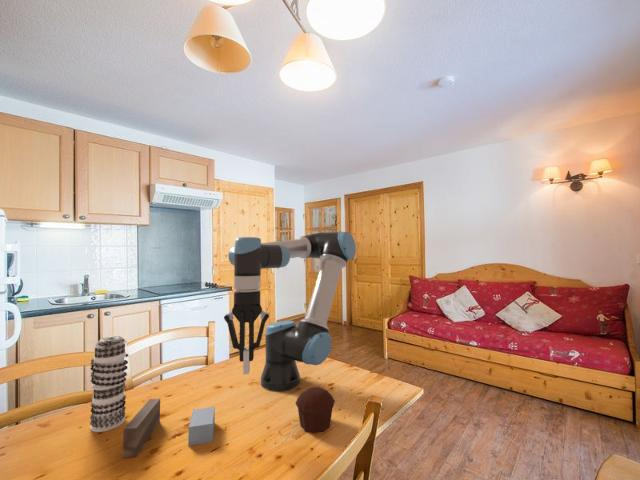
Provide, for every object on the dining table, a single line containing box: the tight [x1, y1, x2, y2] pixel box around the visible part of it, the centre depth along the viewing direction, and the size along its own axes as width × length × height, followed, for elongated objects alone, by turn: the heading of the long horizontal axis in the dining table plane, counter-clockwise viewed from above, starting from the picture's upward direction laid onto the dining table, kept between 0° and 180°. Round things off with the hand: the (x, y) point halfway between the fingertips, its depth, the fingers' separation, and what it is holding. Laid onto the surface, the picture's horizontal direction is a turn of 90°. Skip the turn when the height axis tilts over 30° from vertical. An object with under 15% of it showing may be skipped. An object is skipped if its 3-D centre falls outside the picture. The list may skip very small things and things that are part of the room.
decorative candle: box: [89, 335, 129, 433], centre depth 88 cm, size 9×9×25 cm
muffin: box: [295, 386, 336, 435], centre depth 88 cm, size 12×11×10 cm
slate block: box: [187, 406, 216, 447], centre depth 83 cm, size 6×9×5 cm, turn 16°
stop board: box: [122, 398, 161, 459], centre depth 81 cm, size 3×15×7 cm, turn 8°
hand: (246, 372), depth 85 cm, fingers closed
